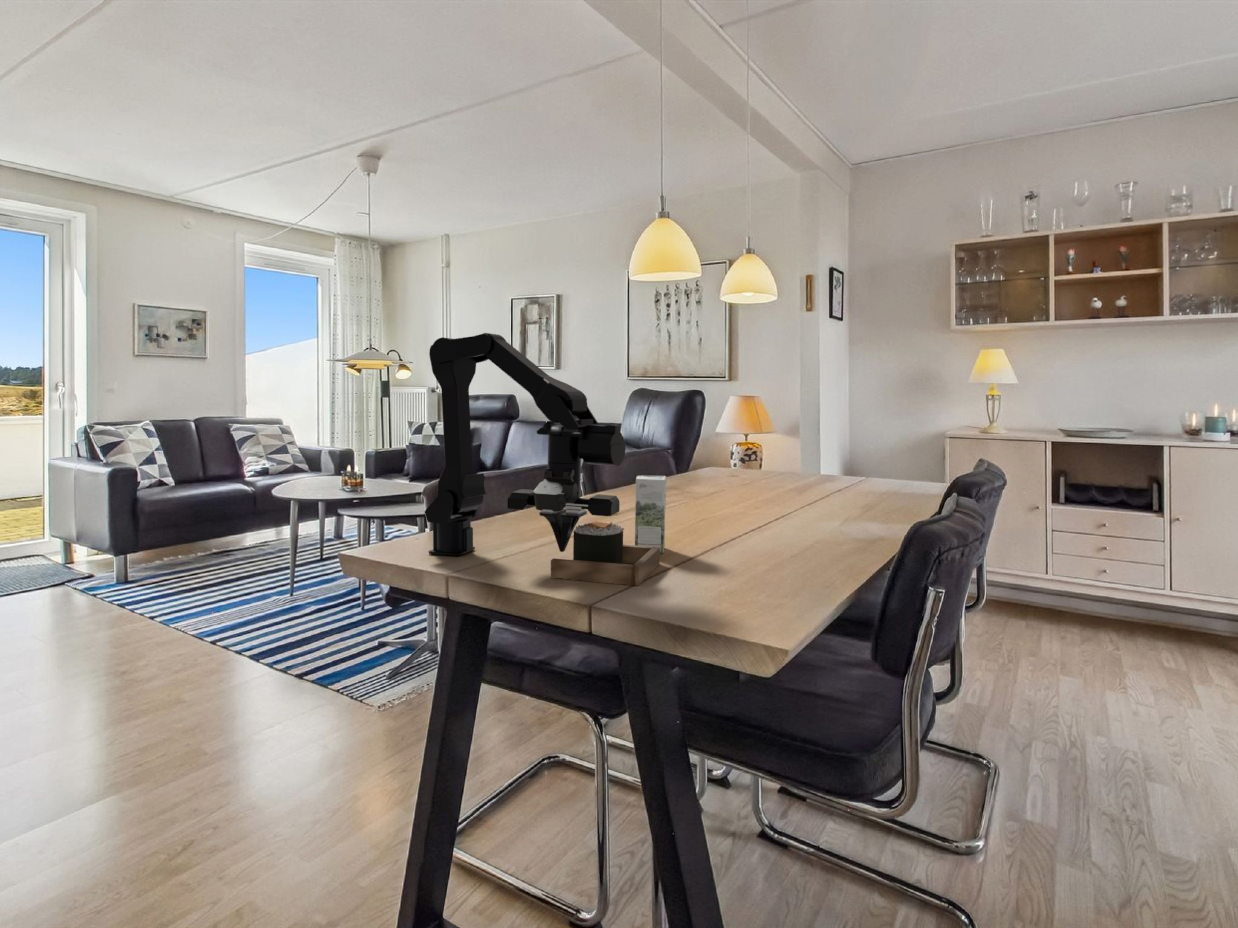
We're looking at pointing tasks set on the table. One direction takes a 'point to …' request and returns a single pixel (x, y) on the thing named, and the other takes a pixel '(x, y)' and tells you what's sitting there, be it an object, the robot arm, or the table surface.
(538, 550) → the table surface
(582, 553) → the sushi
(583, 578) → the tray
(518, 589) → the table surface
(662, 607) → the table surface
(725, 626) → the table surface
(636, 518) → the syrup box
